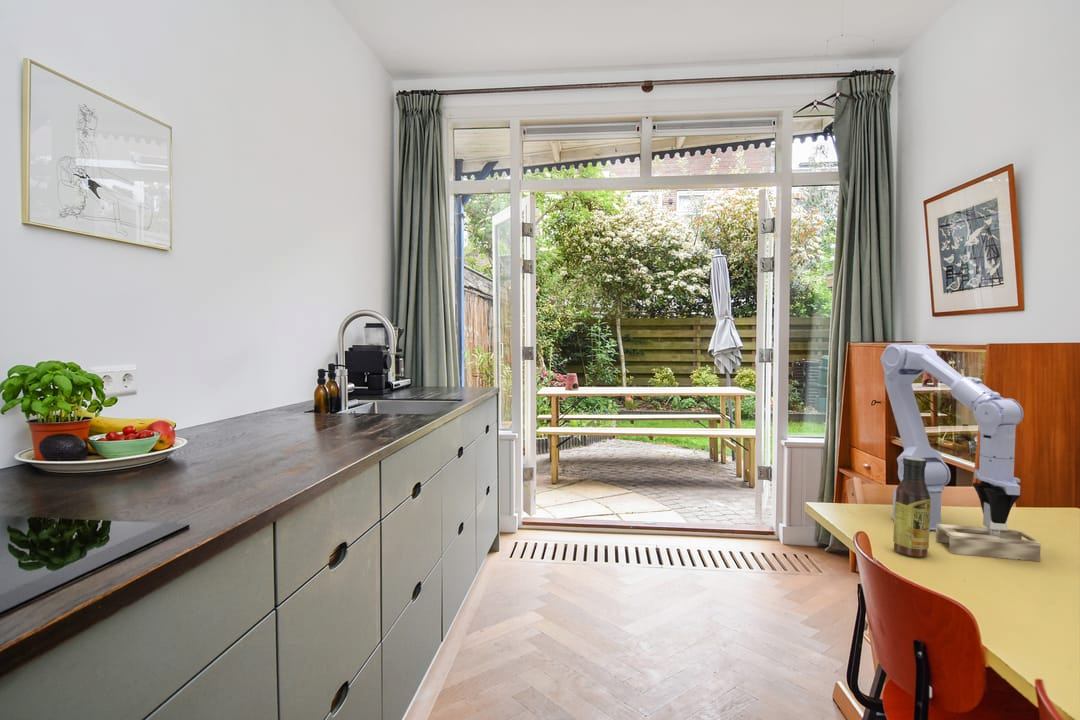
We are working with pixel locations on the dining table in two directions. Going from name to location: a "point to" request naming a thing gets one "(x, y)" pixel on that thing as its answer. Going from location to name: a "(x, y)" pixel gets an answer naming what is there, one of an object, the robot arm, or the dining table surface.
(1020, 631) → the dining table surface
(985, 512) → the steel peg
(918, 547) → the sauce bottle
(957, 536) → the beige wooden frame
